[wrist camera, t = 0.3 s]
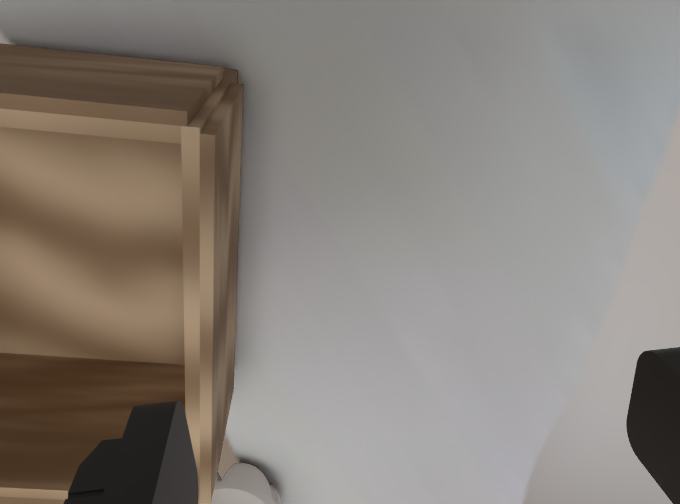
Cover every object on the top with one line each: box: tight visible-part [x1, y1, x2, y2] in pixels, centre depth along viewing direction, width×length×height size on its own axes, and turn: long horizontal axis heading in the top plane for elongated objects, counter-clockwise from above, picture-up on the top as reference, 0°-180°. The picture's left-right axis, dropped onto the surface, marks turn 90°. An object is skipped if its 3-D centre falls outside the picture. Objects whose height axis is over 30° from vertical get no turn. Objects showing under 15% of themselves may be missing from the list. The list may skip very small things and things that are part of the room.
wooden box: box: [0, 44, 243, 504], centre depth 27 cm, size 19×17×10 cm
